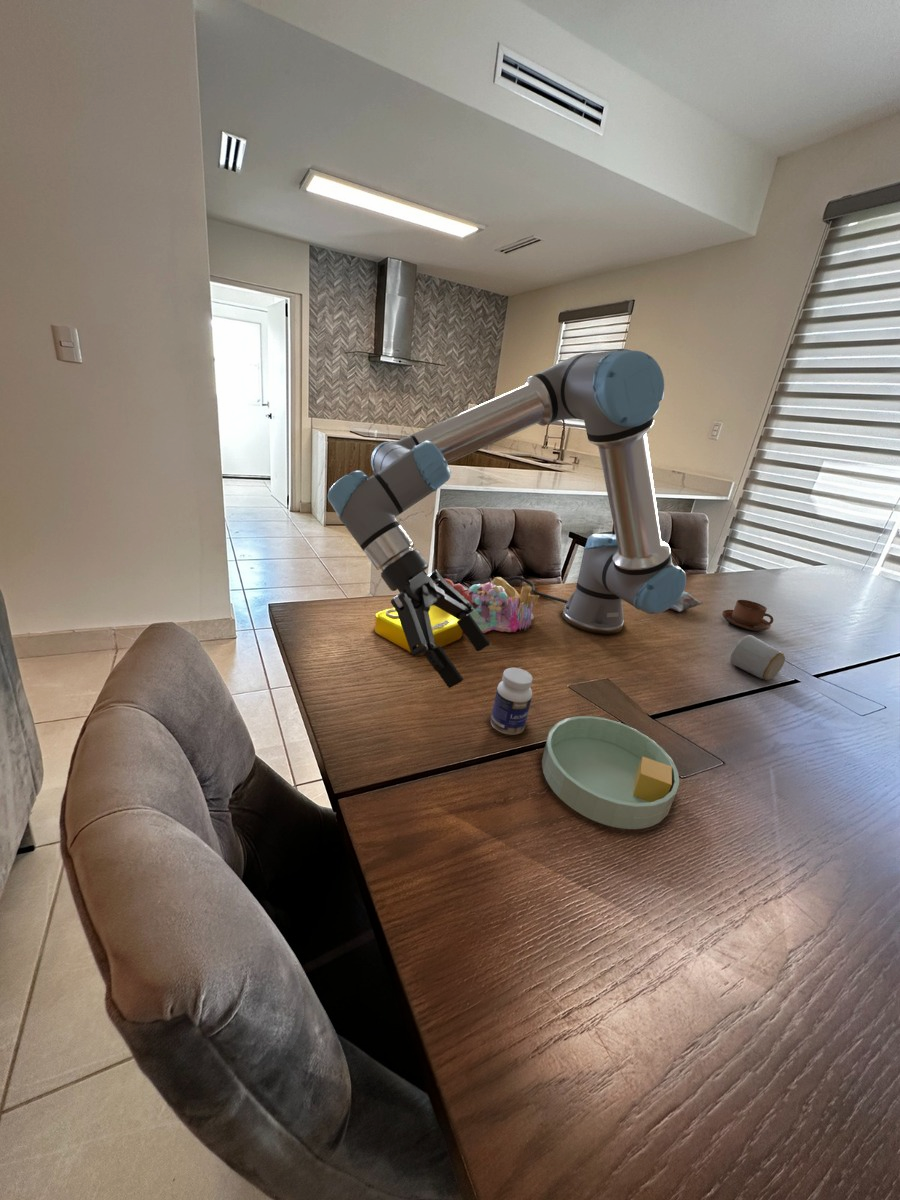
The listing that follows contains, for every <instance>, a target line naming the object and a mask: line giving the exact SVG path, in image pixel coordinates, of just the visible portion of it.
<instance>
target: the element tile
mask: <svg viewBox="0 0 900 1200" xmlns="http://www.w3.org/2000/svg"><path fill="white" fill-rule="evenodd" d="M429 617H430V622H431V627H432V632H433V637H434V642H435V647H437V646H438V645H440V647H441V648H443V647H445V646H447V645H449V644H452V643H454V642H456V641H459V640H460V639H461V638H462V637H463V633H464V632H463V630H462V629H461V628H460V626H459V625H458V623H457V622H458V621H459V620H461V619H457V618H456V617H454V616H452V615H451V614H449V613H447V612H445V611H444V610H442V609H440V608H438V607H437V606H434V605H432V606H430V610H429ZM374 632H375V633H376V634H377V635H379V636H381V637H382V638H384V639H386V640H388V641H389V642H392V643H393V644H395V645H396V646H398V647H400V648H402V649H403V650H405V651H407V652H409V653H411V651H410V648H409V645H408V642H407V639H406V637H405V634H404V631H403V628H402V625H401V622H400V619H399V616H398V614H397V612H396V610H395V608H394V607H393V606H392V607H390V608H386V609H382V610H380V611H378V612H376V613H375V617H374ZM416 646H418V645H416Z"/></svg>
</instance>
